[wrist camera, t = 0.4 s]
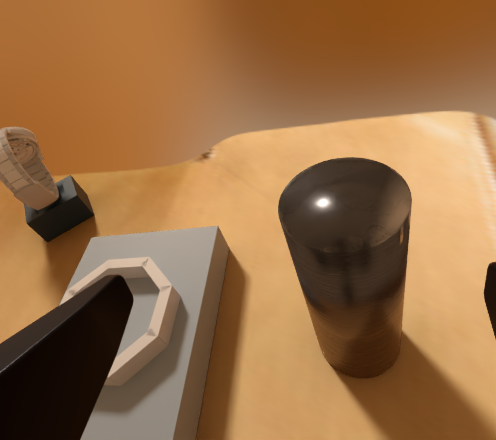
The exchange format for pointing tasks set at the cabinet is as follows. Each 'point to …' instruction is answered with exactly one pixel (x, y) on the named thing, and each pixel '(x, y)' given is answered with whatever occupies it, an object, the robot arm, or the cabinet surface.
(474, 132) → the cabinet surface
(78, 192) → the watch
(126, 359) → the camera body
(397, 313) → the lens
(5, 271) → the cabinet surface
